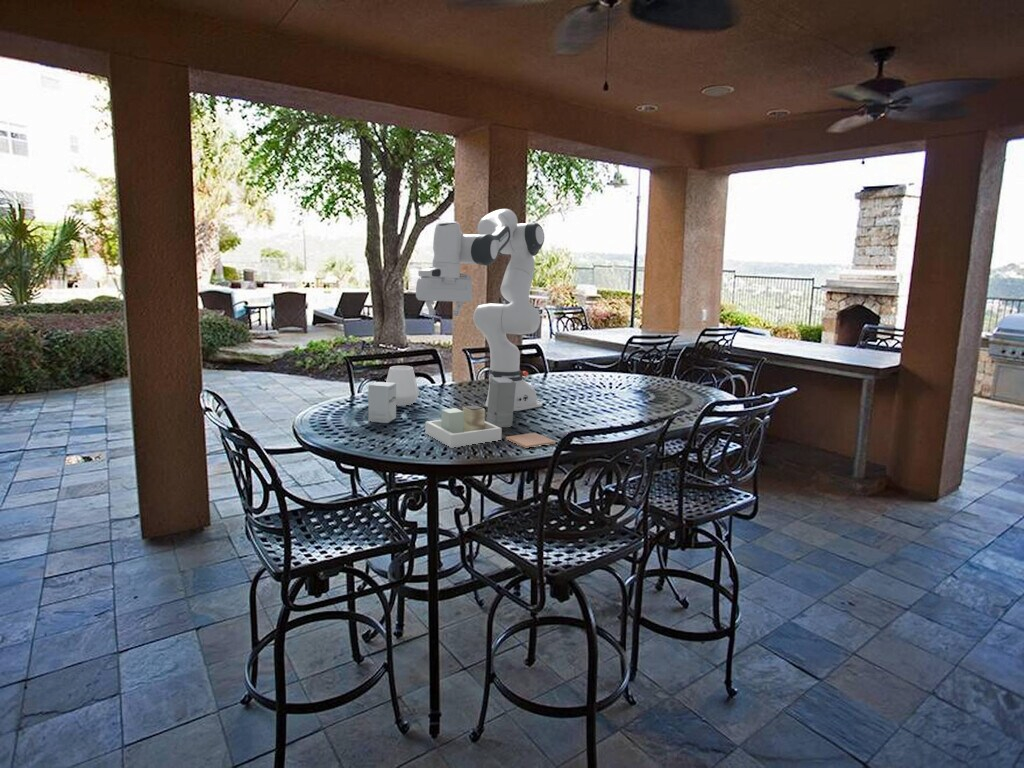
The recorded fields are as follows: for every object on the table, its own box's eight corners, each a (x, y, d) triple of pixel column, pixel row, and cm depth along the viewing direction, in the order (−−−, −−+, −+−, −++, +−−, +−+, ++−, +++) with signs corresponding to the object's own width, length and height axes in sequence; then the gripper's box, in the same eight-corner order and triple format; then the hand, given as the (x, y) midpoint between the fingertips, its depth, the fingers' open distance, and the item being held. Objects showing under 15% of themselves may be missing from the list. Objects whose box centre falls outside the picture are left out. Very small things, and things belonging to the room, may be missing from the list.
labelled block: (476, 433, 200) (476, 404, 198) (484, 436, 196) (484, 408, 194) (462, 435, 197) (463, 406, 195) (470, 438, 193) (470, 409, 191)
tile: (534, 435, 199) (534, 432, 199) (555, 444, 190) (555, 441, 190) (505, 439, 193) (505, 436, 193) (525, 449, 184) (526, 445, 184)
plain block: (455, 435, 196) (455, 408, 194) (463, 439, 192) (463, 411, 190) (441, 437, 193) (441, 409, 191) (448, 442, 189) (449, 413, 187)
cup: (405, 398, 247) (405, 363, 245) (426, 404, 238) (426, 368, 236) (376, 402, 238) (376, 366, 235) (397, 409, 229) (397, 371, 226)
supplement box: (388, 423, 208) (388, 386, 205) (367, 421, 209) (367, 384, 207) (396, 418, 215) (396, 382, 213) (376, 416, 216) (376, 381, 214)
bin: (473, 427, 206) (473, 415, 206) (501, 440, 192) (501, 428, 191) (425, 433, 197) (425, 421, 196) (451, 448, 183) (451, 435, 182)
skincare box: (486, 422, 214) (487, 377, 211) (505, 421, 217) (506, 376, 214) (495, 428, 206) (496, 381, 203) (515, 427, 209) (516, 380, 206)
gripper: (466, 273, 210) (464, 315, 212) (413, 270, 197) (412, 314, 199) (477, 274, 205) (475, 316, 207) (424, 270, 192) (423, 315, 194)
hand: (444, 315), depth 203 cm, fingers open, 8 cm apart
